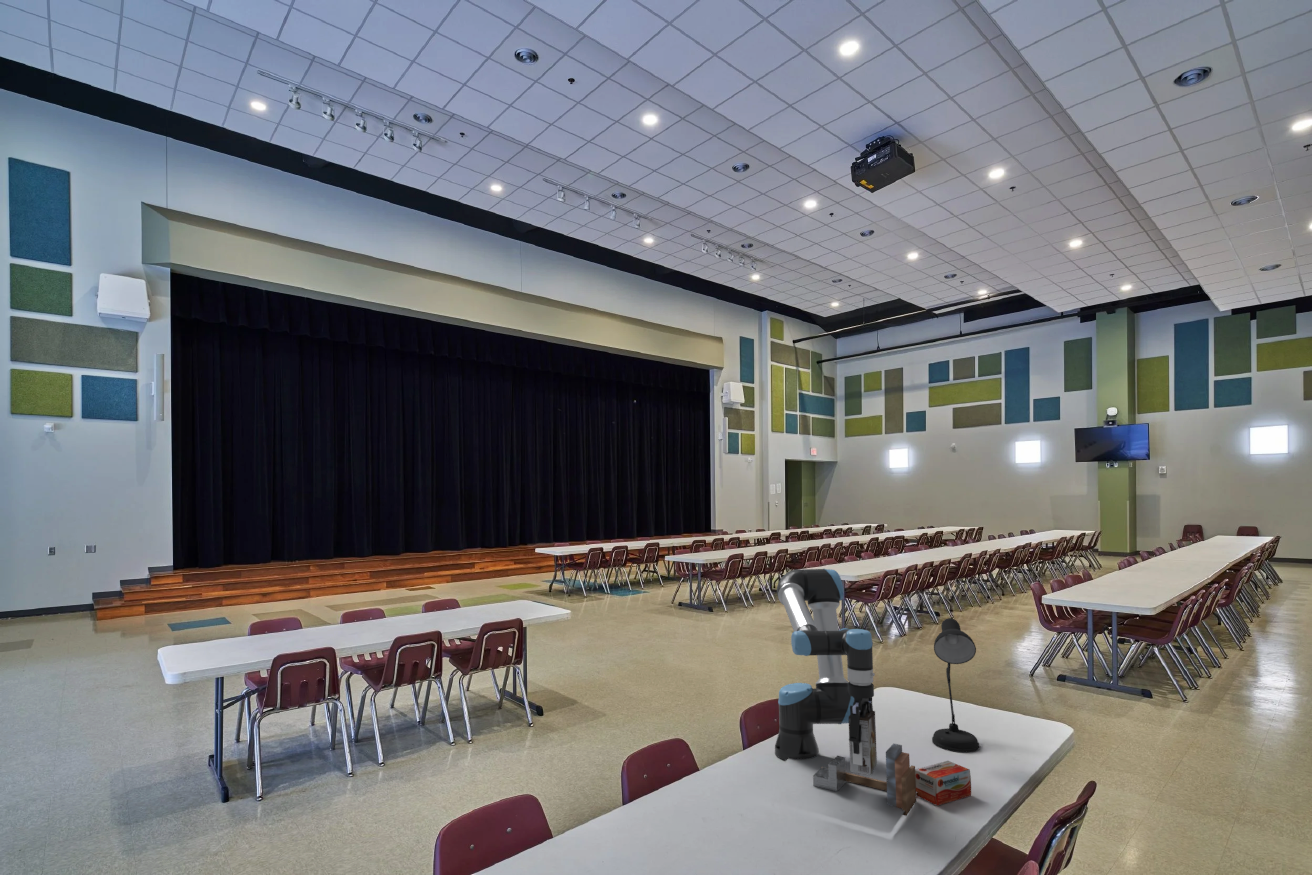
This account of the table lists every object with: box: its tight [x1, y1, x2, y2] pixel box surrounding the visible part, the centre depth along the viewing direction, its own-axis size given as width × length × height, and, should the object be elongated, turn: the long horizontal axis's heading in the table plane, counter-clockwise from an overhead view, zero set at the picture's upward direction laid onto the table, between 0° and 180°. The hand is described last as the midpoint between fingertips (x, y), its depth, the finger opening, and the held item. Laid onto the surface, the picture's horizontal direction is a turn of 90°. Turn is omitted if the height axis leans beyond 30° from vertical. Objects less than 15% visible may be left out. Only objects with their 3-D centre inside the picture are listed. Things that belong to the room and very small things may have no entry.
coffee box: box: [848, 710, 878, 776], centre depth 201 cm, size 9×6×16 cm
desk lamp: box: [931, 617, 980, 753], centre depth 242 cm, size 24×26×45 cm
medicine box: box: [915, 760, 972, 807], centre depth 200 cm, size 15×8×8 cm, turn 117°
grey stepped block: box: [812, 755, 847, 793], centre depth 206 cm, size 8×8×8 cm
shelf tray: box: [820, 743, 917, 817], centre depth 201 cm, size 29×11×16 cm, turn 55°
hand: (863, 758), depth 200 cm, fingers closed on coffee box, 9 cm apart
